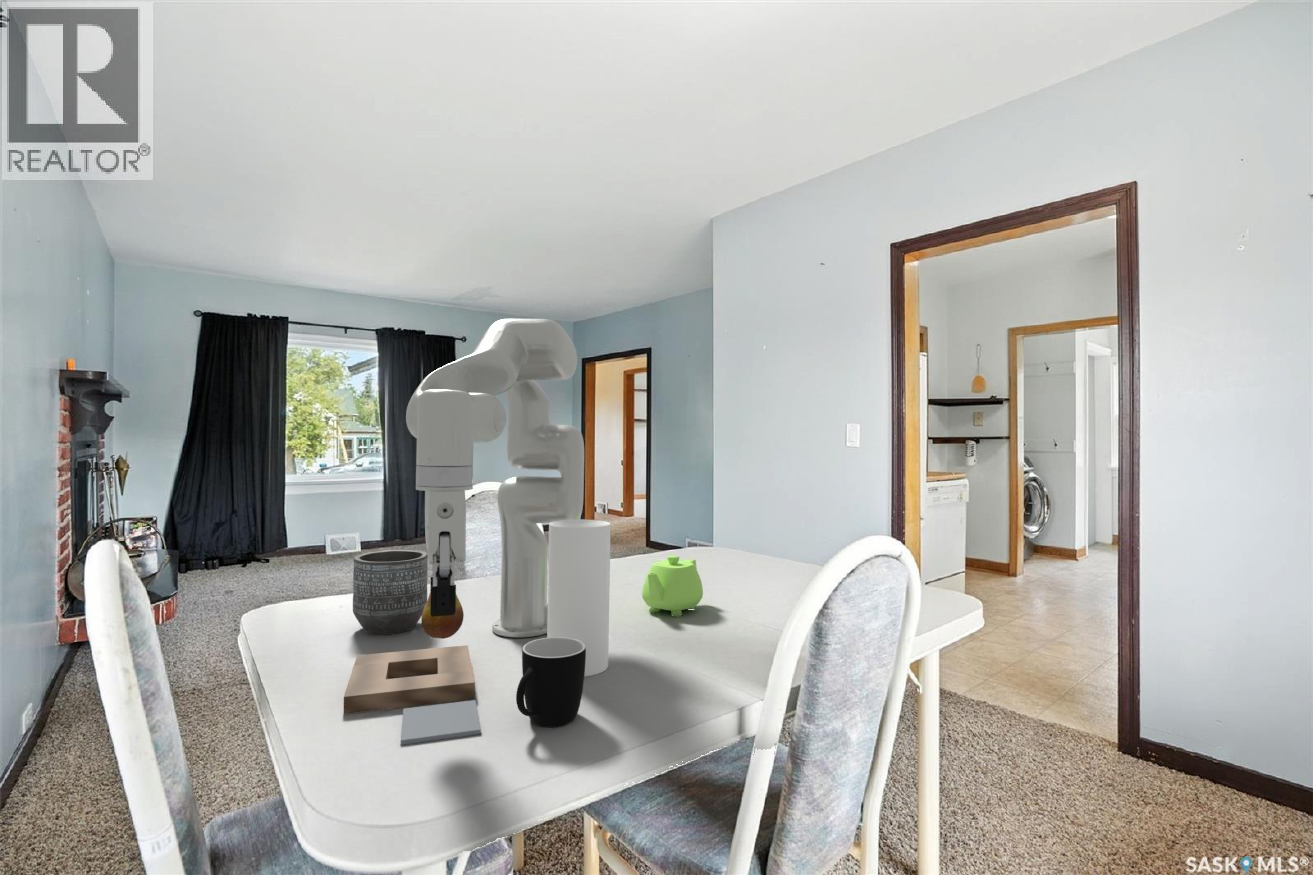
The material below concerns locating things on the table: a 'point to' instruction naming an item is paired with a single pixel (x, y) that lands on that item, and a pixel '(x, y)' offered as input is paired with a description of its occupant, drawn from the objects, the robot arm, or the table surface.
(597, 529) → the tall pillar cylinder
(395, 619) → the planter
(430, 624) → the fruit
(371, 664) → the block with square hole
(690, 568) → the teapot
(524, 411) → the robot arm
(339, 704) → the table surface
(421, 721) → the coaster
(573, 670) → the mug
